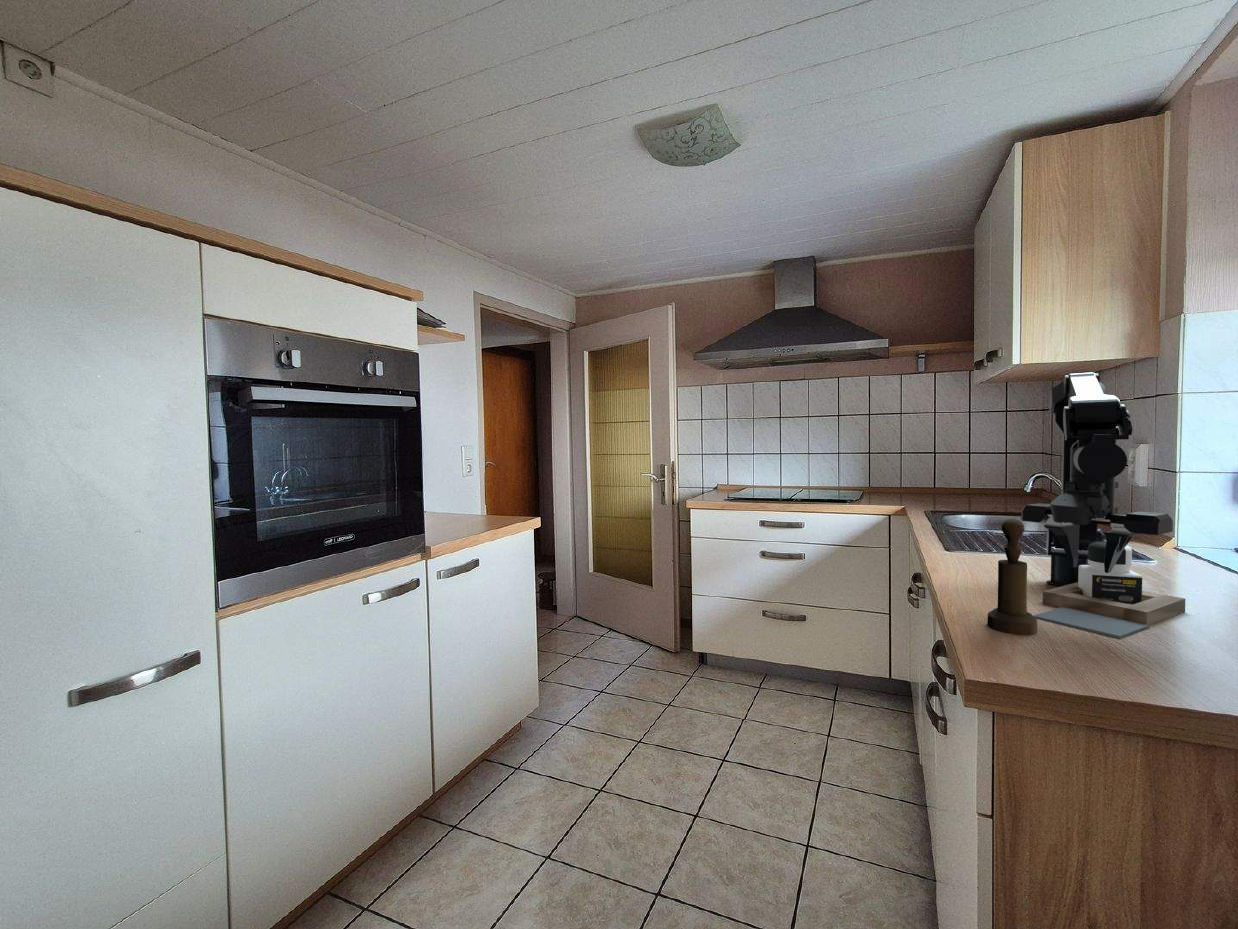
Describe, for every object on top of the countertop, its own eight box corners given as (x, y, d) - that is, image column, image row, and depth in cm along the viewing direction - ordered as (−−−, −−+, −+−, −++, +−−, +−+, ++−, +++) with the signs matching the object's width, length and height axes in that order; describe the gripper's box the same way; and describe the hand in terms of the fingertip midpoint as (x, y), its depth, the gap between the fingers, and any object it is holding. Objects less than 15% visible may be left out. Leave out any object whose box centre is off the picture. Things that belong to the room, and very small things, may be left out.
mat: (1032, 619, 98) (1033, 615, 98) (1063, 609, 103) (1063, 606, 103) (1120, 640, 88) (1120, 636, 88) (1149, 628, 92) (1149, 625, 92)
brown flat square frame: (1042, 604, 106) (1042, 591, 106) (1083, 593, 113) (1083, 580, 113) (1146, 627, 93) (1146, 612, 93) (1185, 612, 100) (1185, 598, 100)
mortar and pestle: (1029, 625, 95) (1030, 517, 94) (1043, 638, 89) (1045, 523, 88) (982, 622, 97) (983, 516, 96) (993, 634, 91) (994, 521, 90)
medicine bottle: (1091, 612, 103) (1093, 545, 102) (1077, 601, 109) (1078, 539, 109) (1142, 616, 100) (1144, 548, 100) (1124, 605, 107) (1125, 541, 106)
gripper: (1003, 475, 99) (1002, 565, 99) (1142, 481, 82) (1140, 589, 83) (1038, 472, 104) (1037, 557, 105) (1175, 477, 88) (1172, 579, 88)
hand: (1090, 569), depth 95 cm, fingers open, 4 cm apart
